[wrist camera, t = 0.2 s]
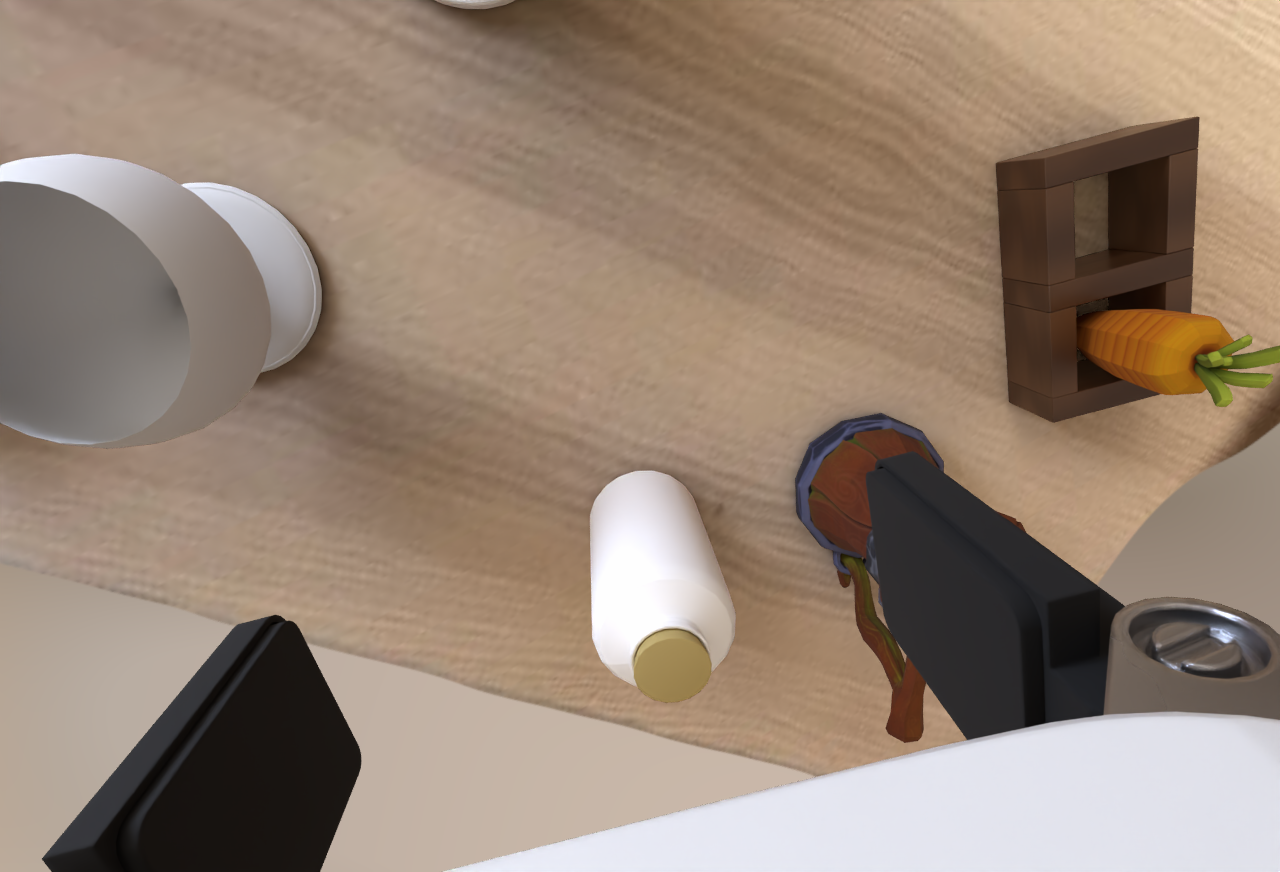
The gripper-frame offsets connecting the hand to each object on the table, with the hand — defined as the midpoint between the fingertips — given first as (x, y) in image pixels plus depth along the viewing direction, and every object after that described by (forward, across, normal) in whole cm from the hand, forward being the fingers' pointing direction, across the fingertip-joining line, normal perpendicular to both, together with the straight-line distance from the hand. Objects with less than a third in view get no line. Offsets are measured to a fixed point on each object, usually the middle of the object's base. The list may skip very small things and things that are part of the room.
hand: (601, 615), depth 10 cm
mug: (+37, -16, +22) cm, 46 cm away
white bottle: (+37, 0, +17) cm, 41 cm away
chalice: (+37, +22, -7) cm, 44 cm away
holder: (+37, -34, +6) cm, 50 cm away
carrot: (+37, -34, +10) cm, 51 cm away
